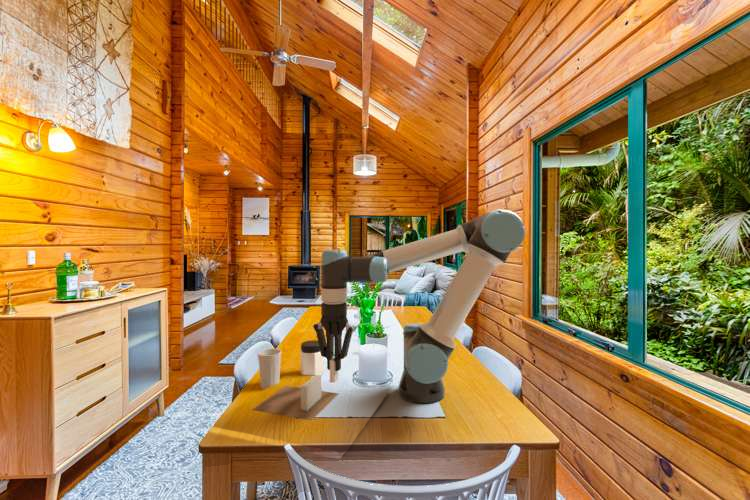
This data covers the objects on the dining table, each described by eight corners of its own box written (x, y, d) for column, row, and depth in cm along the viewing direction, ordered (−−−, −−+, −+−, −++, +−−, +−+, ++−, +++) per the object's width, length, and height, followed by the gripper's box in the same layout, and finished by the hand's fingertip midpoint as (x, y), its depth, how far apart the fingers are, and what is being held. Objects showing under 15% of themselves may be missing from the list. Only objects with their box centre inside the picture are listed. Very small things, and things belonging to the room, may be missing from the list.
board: (338, 397, 115) (338, 393, 115) (311, 424, 98) (311, 420, 98) (285, 389, 121) (285, 385, 121) (251, 413, 104) (251, 409, 104)
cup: (275, 391, 120) (274, 356, 120) (253, 389, 121) (253, 354, 121) (285, 382, 128) (285, 349, 127) (265, 380, 129) (265, 348, 129)
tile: (321, 397, 112) (321, 375, 112) (307, 410, 103) (306, 386, 103) (315, 396, 112) (315, 375, 112) (300, 409, 104) (300, 386, 104)
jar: (299, 372, 137) (298, 341, 137) (319, 368, 141) (319, 339, 140) (303, 380, 129) (303, 347, 129) (325, 376, 132) (325, 345, 132)
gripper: (359, 301, 106) (358, 378, 107) (320, 298, 110) (320, 373, 111) (349, 305, 99) (349, 388, 99) (308, 302, 103) (308, 382, 104)
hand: (334, 380), depth 105 cm, fingers closed
